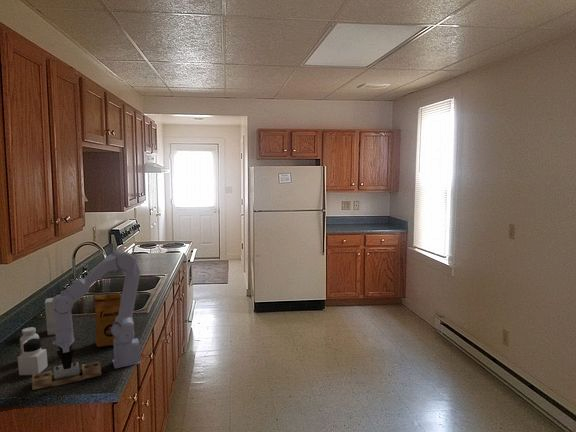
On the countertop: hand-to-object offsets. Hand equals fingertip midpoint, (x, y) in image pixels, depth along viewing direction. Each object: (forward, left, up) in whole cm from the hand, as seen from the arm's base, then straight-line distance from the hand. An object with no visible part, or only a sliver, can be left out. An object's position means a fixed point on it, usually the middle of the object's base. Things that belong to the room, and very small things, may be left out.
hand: (67, 364), depth 160 cm
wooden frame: (0, 0, -5) cm, 5 cm away
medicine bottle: (+11, -13, -6) cm, 18 cm away
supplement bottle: (+12, -24, -6) cm, 28 cm away
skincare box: (+3, -54, -6) cm, 55 cm away
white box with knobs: (0, 0, -6) cm, 6 cm away
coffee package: (-18, -26, -6) cm, 32 cm away
